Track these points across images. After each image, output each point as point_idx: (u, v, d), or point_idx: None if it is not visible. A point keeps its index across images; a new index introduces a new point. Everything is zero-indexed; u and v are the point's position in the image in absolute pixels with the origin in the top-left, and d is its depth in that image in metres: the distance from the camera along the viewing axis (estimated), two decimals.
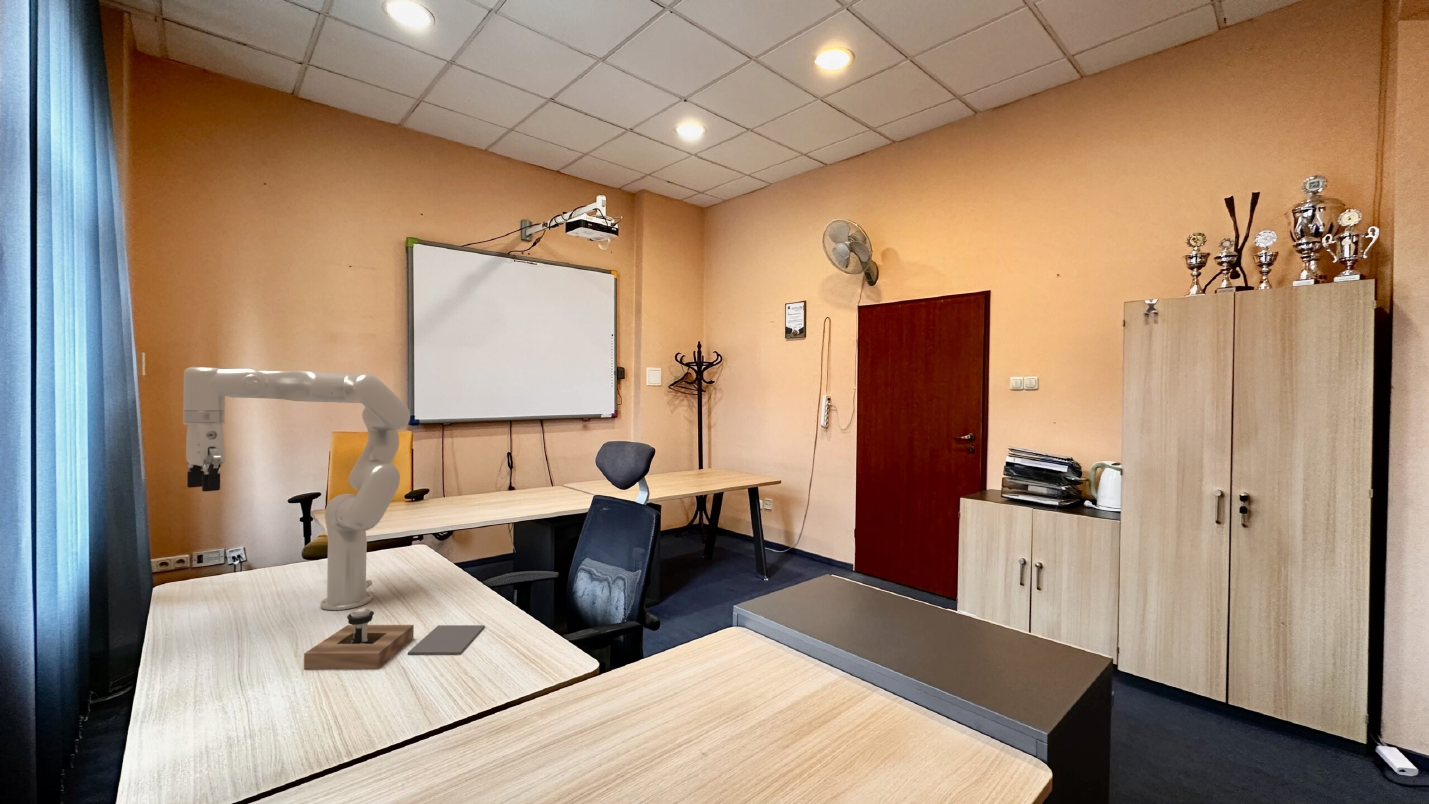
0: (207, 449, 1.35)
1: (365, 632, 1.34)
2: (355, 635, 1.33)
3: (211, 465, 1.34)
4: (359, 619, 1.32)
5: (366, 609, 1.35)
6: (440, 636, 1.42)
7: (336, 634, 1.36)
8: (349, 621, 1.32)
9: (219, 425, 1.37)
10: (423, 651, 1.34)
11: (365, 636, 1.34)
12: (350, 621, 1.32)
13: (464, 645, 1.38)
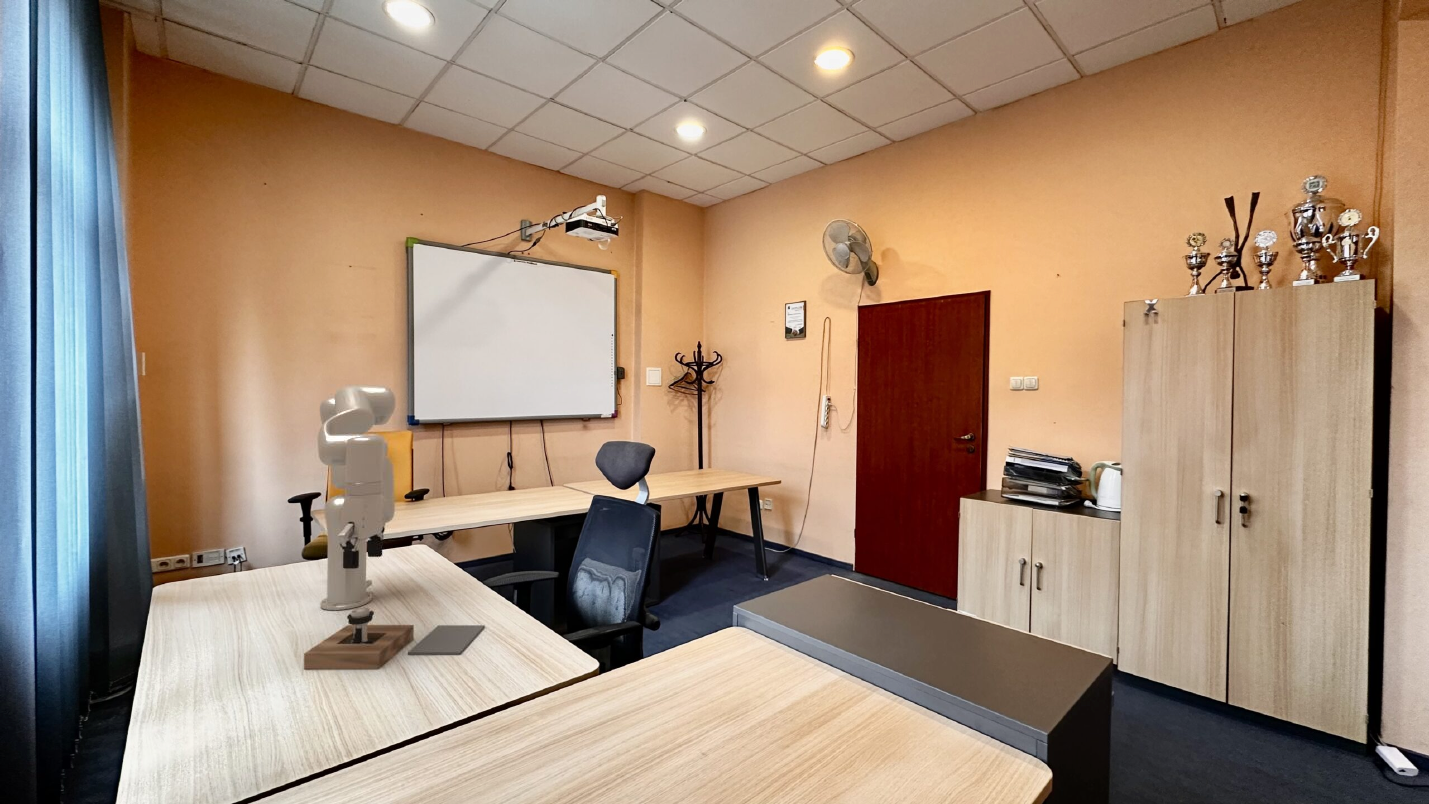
0: None
1: (365, 632, 1.34)
2: (355, 635, 1.33)
3: None
4: (359, 619, 1.32)
5: (366, 609, 1.35)
6: (440, 636, 1.42)
7: (336, 634, 1.36)
8: (349, 621, 1.32)
9: None
10: (423, 651, 1.34)
11: (365, 636, 1.34)
12: (350, 621, 1.32)
13: (464, 645, 1.38)
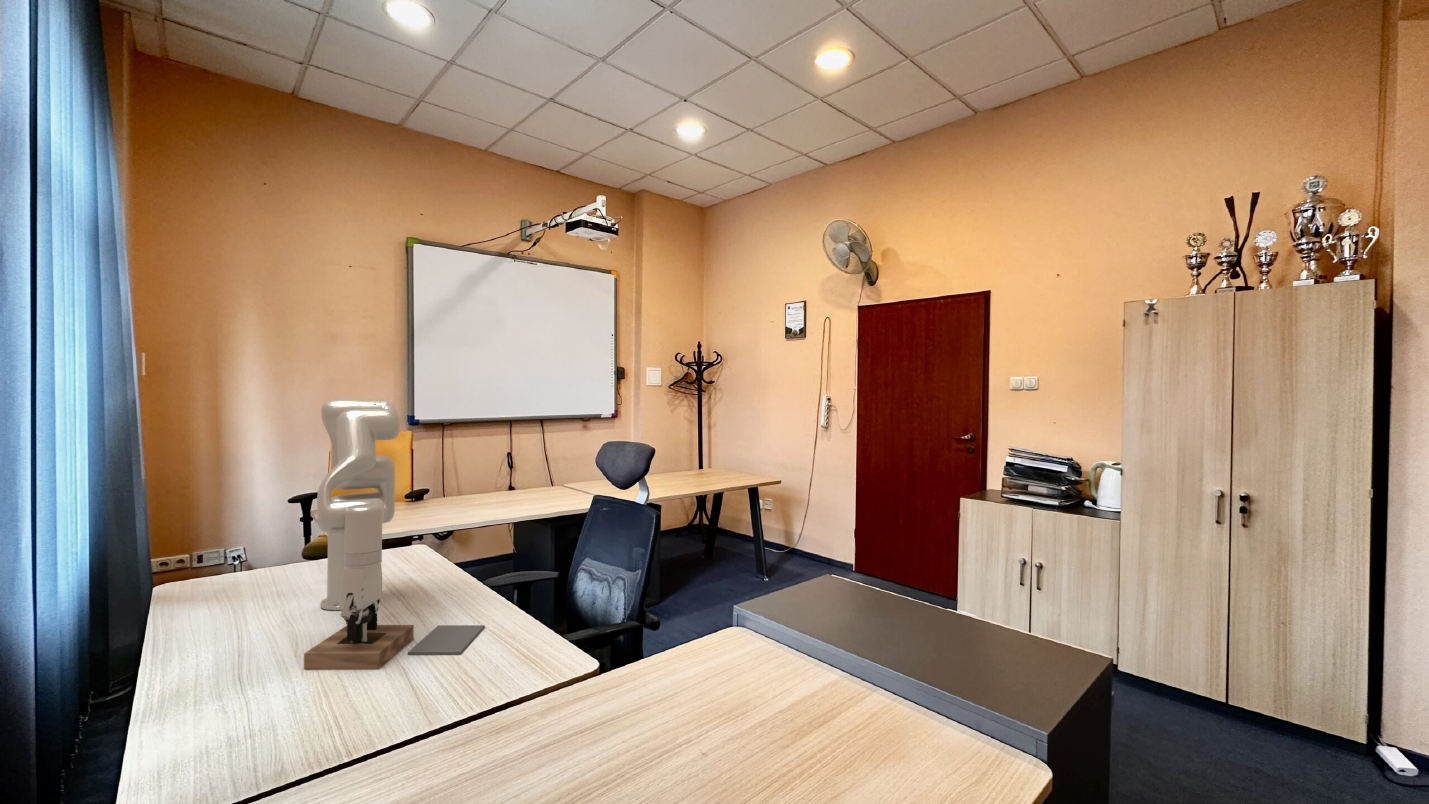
0: None
1: (364, 632, 1.33)
2: None
3: (379, 599, 1.40)
4: None
5: (365, 609, 1.34)
6: (440, 636, 1.42)
7: (336, 634, 1.36)
8: None
9: None
10: (423, 651, 1.34)
11: (365, 636, 1.33)
12: None
13: (464, 645, 1.38)
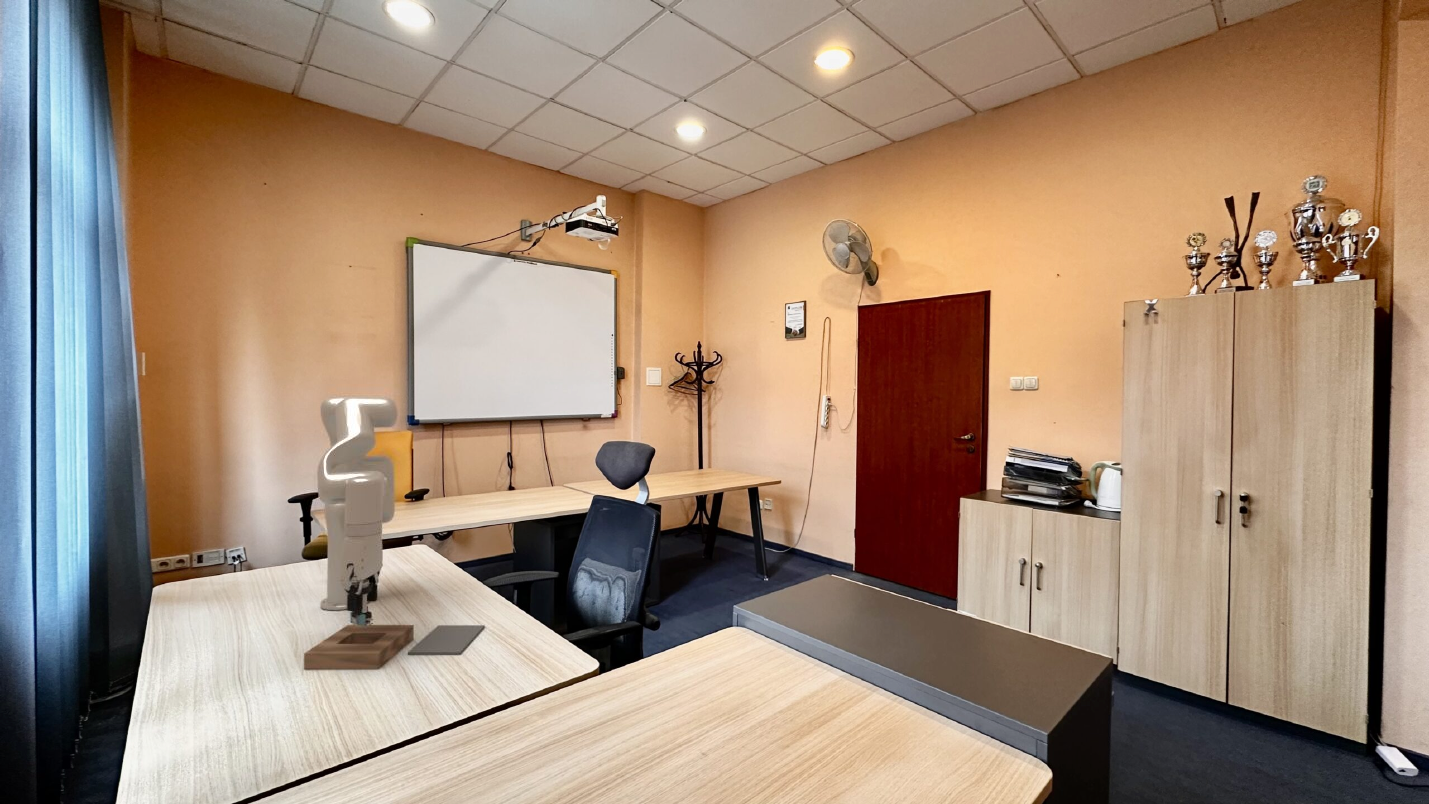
0: None
1: (365, 603, 1.34)
2: None
3: (379, 571, 1.40)
4: None
5: (365, 580, 1.35)
6: (440, 636, 1.42)
7: (336, 634, 1.36)
8: None
9: None
10: (423, 651, 1.34)
11: (365, 607, 1.34)
12: None
13: (464, 645, 1.38)
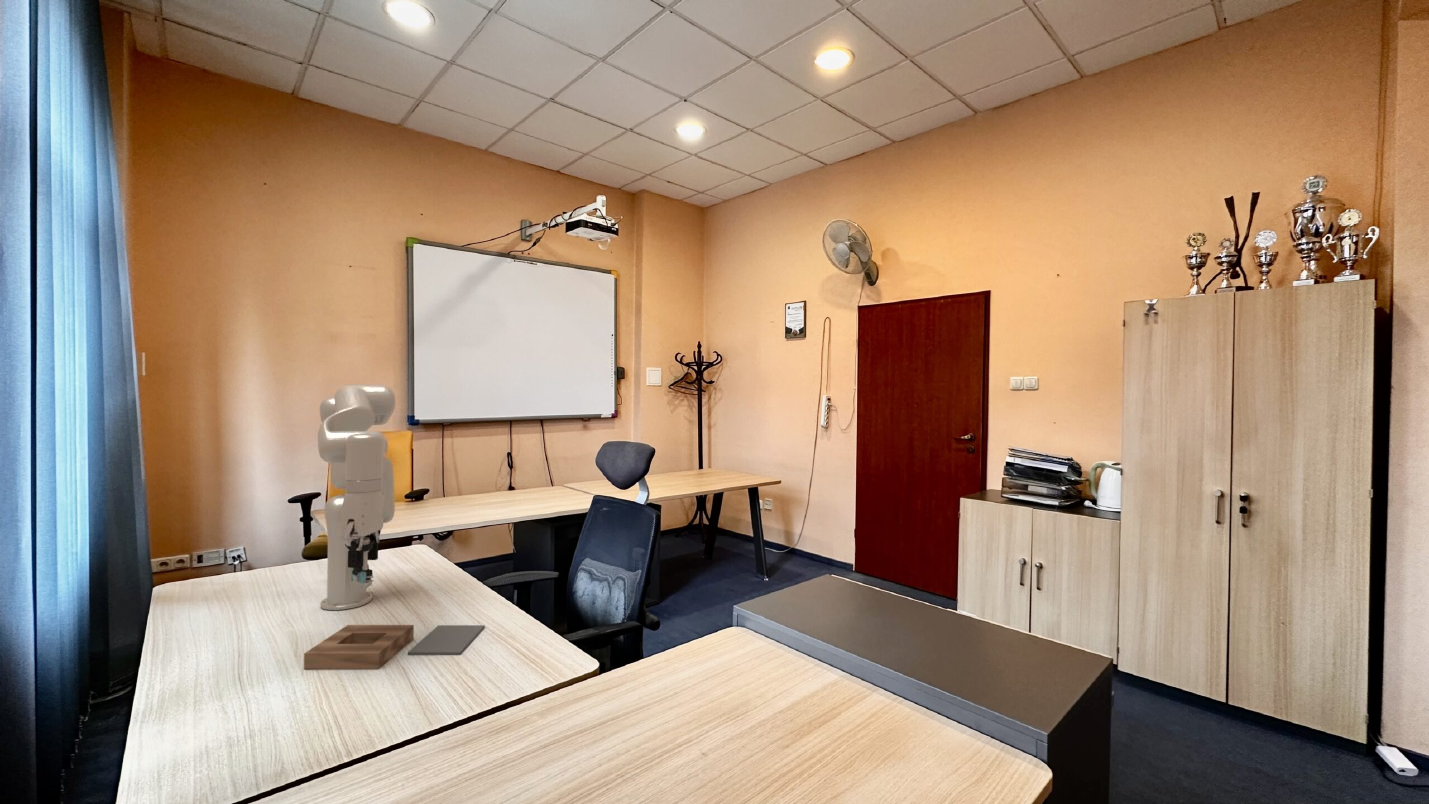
0: None
1: (365, 560, 1.33)
2: None
3: (379, 531, 1.40)
4: None
5: (366, 538, 1.34)
6: (440, 636, 1.42)
7: (336, 634, 1.36)
8: None
9: None
10: (423, 651, 1.34)
11: (365, 564, 1.34)
12: None
13: (464, 645, 1.38)
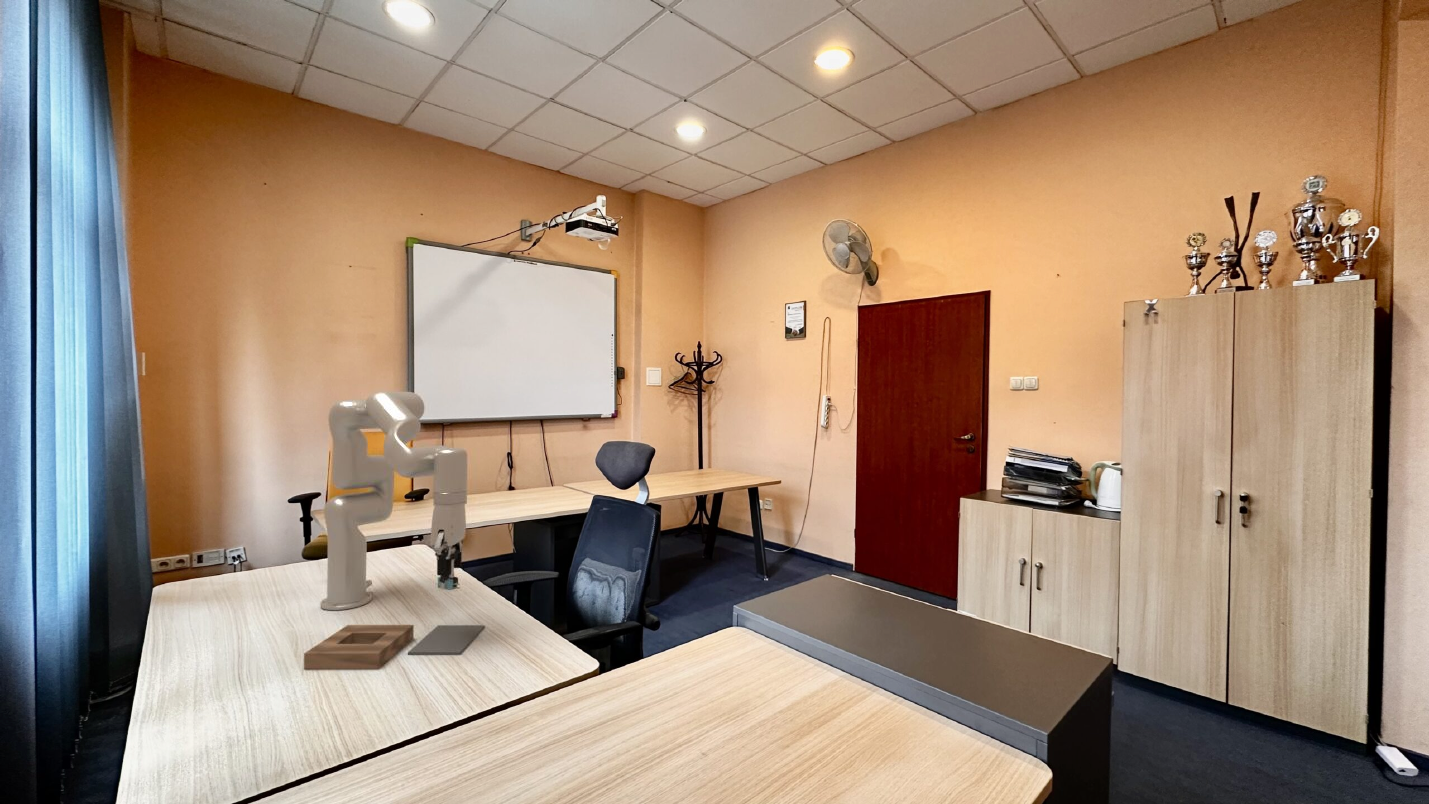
0: None
1: (452, 568, 1.41)
2: None
3: None
4: None
5: (452, 547, 1.42)
6: (440, 636, 1.42)
7: (336, 634, 1.36)
8: None
9: None
10: (423, 651, 1.34)
11: (452, 572, 1.41)
12: None
13: (464, 645, 1.38)
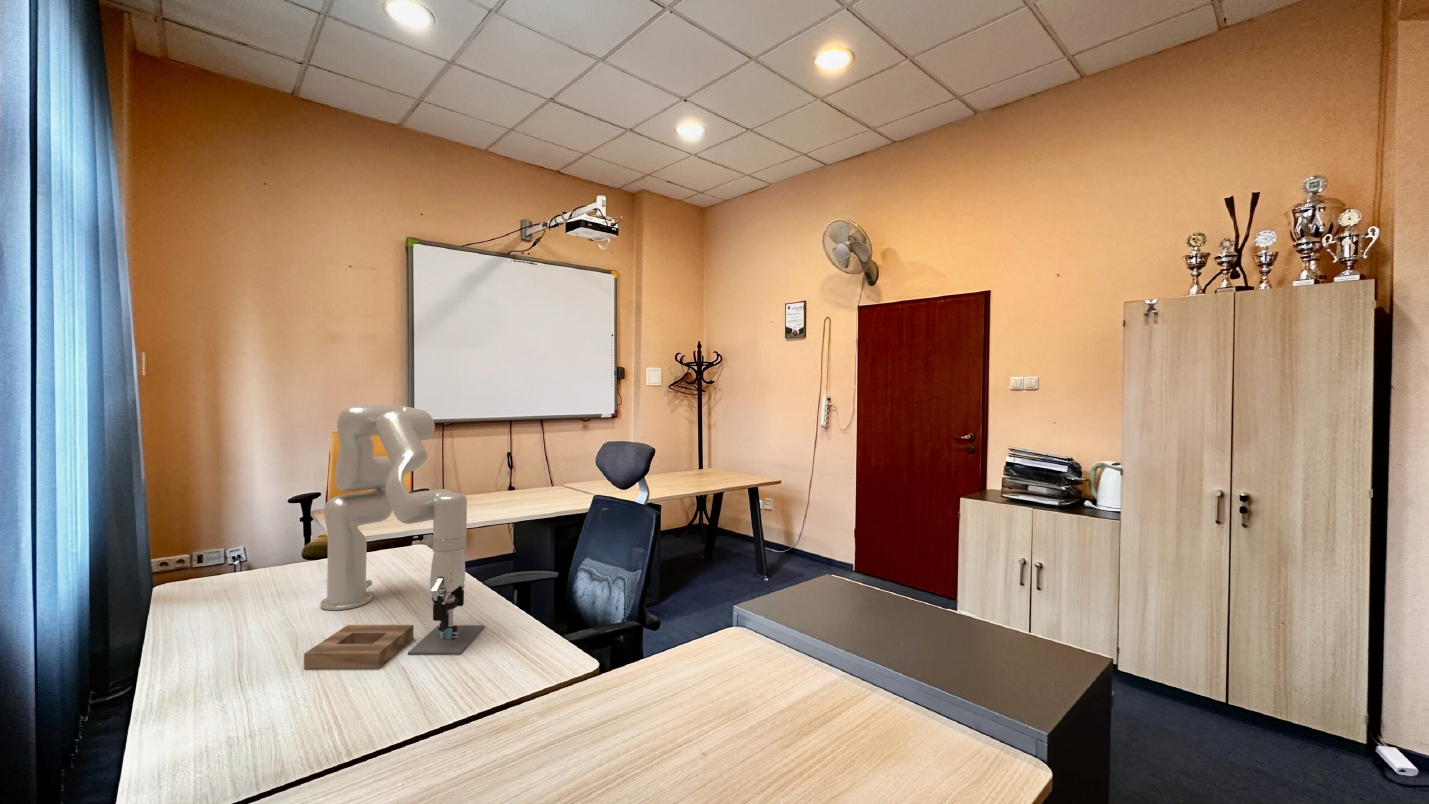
0: None
1: (451, 617, 1.42)
2: None
3: None
4: None
5: (452, 596, 1.43)
6: None
7: (336, 634, 1.36)
8: None
9: None
10: (423, 651, 1.34)
11: (451, 621, 1.42)
12: None
13: (464, 645, 1.38)
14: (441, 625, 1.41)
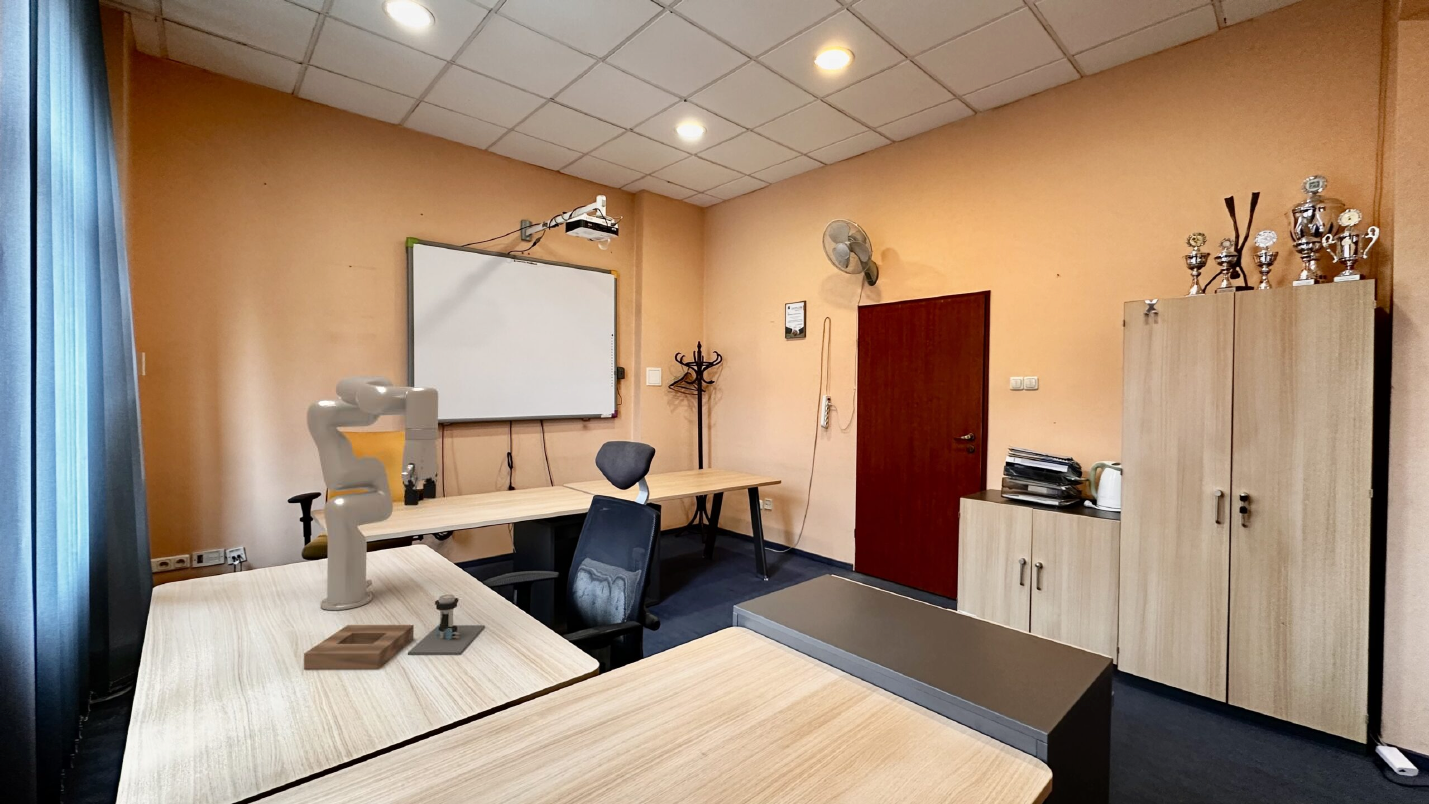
0: None
1: (451, 617, 1.42)
2: (442, 620, 1.41)
3: None
4: (446, 605, 1.40)
5: (452, 596, 1.43)
6: None
7: (336, 634, 1.36)
8: (437, 607, 1.40)
9: None
10: (423, 651, 1.34)
11: (451, 621, 1.42)
12: (438, 607, 1.40)
13: (464, 645, 1.38)
14: (441, 625, 1.41)
